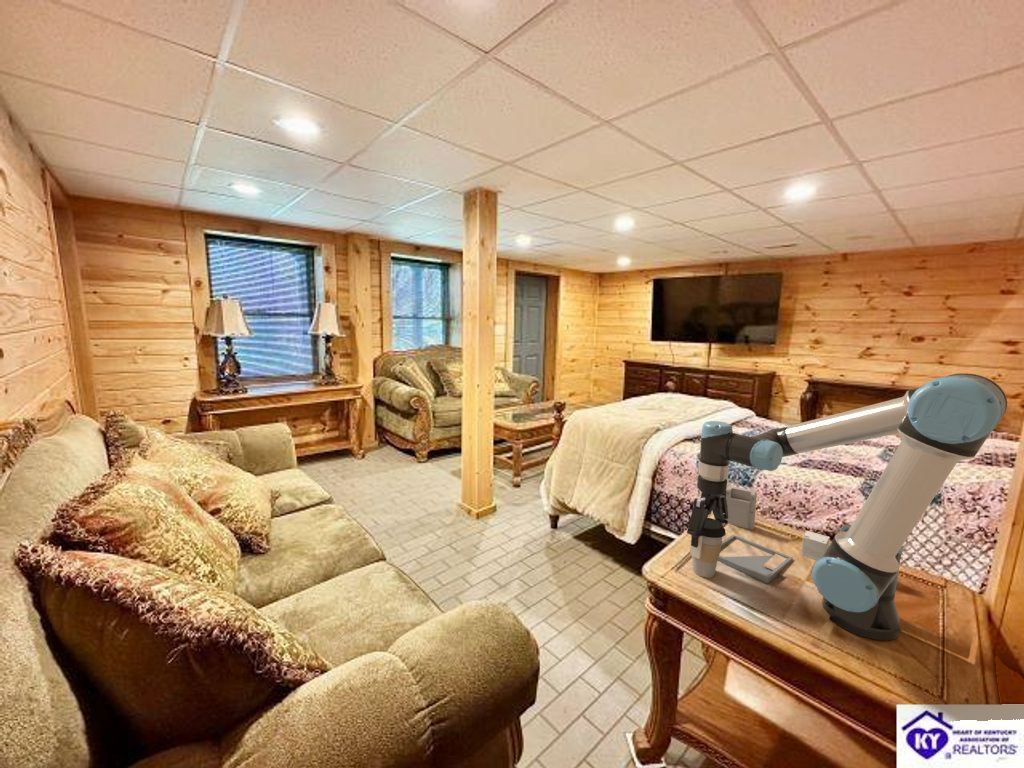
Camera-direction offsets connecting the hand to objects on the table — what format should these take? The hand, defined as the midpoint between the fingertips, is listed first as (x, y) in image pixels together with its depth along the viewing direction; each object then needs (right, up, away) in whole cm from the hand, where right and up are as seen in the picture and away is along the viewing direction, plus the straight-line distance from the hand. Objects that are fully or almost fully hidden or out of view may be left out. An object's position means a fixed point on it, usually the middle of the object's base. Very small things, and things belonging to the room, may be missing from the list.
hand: (706, 549), depth 124 cm
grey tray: (+16, -6, +8) cm, 19 cm away
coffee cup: (-1, -7, +1) cm, 7 cm away
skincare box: (+37, -6, +9) cm, 39 cm away
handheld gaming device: (+24, -3, +27) cm, 36 cm away
